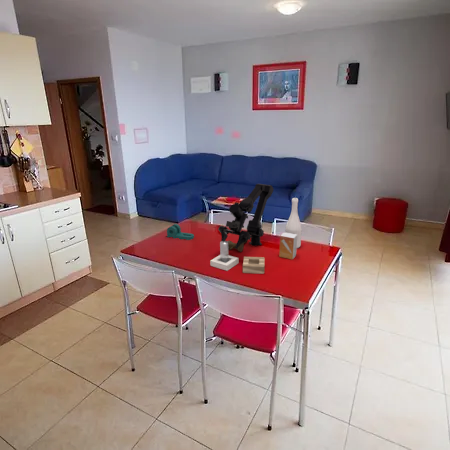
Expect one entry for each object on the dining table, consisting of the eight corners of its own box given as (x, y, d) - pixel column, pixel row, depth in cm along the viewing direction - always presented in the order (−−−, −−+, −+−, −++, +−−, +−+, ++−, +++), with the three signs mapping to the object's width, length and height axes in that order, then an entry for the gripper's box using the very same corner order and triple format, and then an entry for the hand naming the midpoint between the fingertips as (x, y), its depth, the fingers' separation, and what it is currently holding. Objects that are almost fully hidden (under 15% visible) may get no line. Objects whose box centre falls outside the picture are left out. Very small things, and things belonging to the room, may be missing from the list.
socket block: (244, 263, 173) (244, 256, 171) (264, 264, 171) (264, 257, 170) (242, 272, 162) (242, 265, 161) (264, 273, 161) (264, 266, 160)
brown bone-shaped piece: (251, 244, 199) (237, 255, 182) (238, 242, 204) (222, 252, 187) (251, 235, 197) (237, 245, 181) (237, 233, 202) (222, 243, 185)
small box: (279, 256, 179) (279, 235, 175) (282, 252, 185) (283, 232, 180) (292, 259, 176) (294, 238, 171) (296, 255, 181) (297, 234, 176)
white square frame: (222, 258, 179) (222, 253, 178) (238, 262, 173) (238, 258, 172) (210, 265, 171) (210, 260, 170) (227, 270, 165) (227, 265, 164)
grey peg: (221, 262, 174) (220, 240, 170) (229, 262, 174) (228, 240, 169) (220, 265, 170) (219, 243, 166) (228, 266, 170) (227, 244, 165)
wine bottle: (296, 250, 187) (299, 201, 177) (282, 246, 193) (284, 199, 183) (303, 245, 195) (306, 197, 185) (289, 241, 200) (291, 195, 190)
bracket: (167, 237, 212) (166, 226, 210) (172, 234, 218) (171, 223, 215) (191, 240, 206) (190, 229, 203) (195, 237, 212) (195, 226, 209)
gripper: (219, 212, 176) (208, 236, 171) (248, 217, 165) (237, 244, 161) (227, 221, 184) (217, 245, 180) (255, 227, 174) (245, 252, 169)
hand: (228, 246), depth 172 cm, fingers open, 9 cm apart
